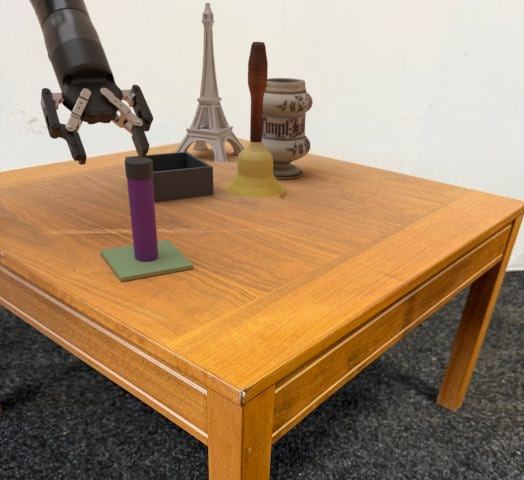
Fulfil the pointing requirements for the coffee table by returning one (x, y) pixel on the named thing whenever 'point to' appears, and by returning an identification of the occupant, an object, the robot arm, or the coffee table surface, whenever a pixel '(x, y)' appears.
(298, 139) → the apothecary jar
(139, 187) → the marker
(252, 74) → the handbell
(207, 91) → the eiffel tower
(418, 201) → the coffee table surface
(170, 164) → the bin
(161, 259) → the mat
